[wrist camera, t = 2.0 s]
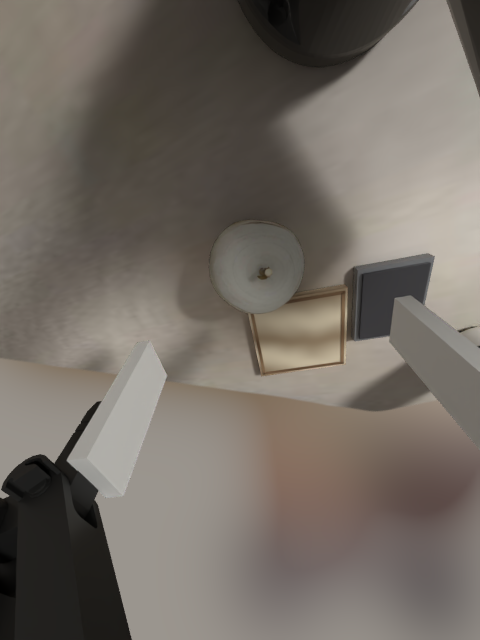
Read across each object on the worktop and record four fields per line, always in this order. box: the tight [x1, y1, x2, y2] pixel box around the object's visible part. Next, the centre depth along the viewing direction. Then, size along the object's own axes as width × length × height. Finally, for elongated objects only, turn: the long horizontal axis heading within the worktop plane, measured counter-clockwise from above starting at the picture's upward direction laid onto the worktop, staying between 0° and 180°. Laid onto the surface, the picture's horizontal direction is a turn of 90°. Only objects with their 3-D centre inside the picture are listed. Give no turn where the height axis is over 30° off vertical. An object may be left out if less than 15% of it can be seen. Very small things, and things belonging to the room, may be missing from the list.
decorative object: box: [209, 220, 304, 314], centre depth 24 cm, size 9×9×10 cm
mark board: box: [248, 284, 348, 376], centre depth 33 cm, size 12×12×1 cm
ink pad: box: [351, 254, 435, 341], centre depth 30 cm, size 10×8×2 cm
